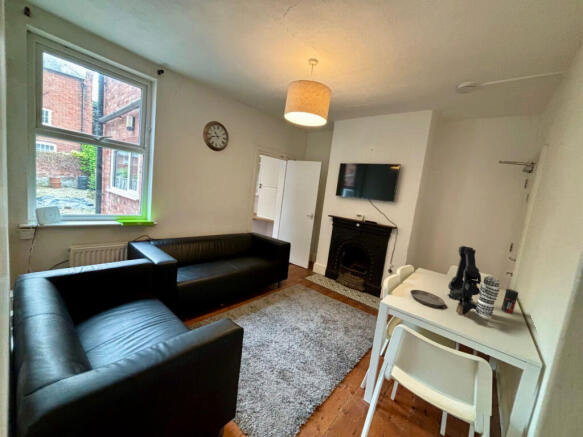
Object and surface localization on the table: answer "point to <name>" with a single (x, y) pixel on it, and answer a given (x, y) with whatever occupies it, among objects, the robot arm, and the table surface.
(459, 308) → the walnut block
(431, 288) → the table surface
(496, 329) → the table surface
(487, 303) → the decorative candle
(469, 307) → the robot arm
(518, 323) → the table surface
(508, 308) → the deodorant
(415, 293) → the plant saucer
